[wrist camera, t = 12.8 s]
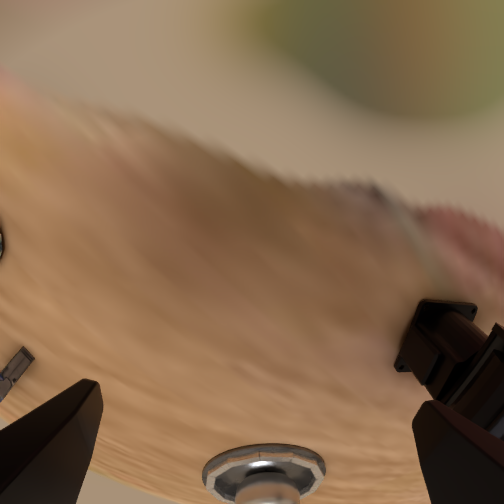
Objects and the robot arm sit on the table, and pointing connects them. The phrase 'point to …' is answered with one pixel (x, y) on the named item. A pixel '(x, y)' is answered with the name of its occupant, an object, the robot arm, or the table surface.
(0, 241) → the white handheld device
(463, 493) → the robot arm
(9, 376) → the mini dv tape
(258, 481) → the plastic bottle
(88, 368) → the table surface
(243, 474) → the pad
